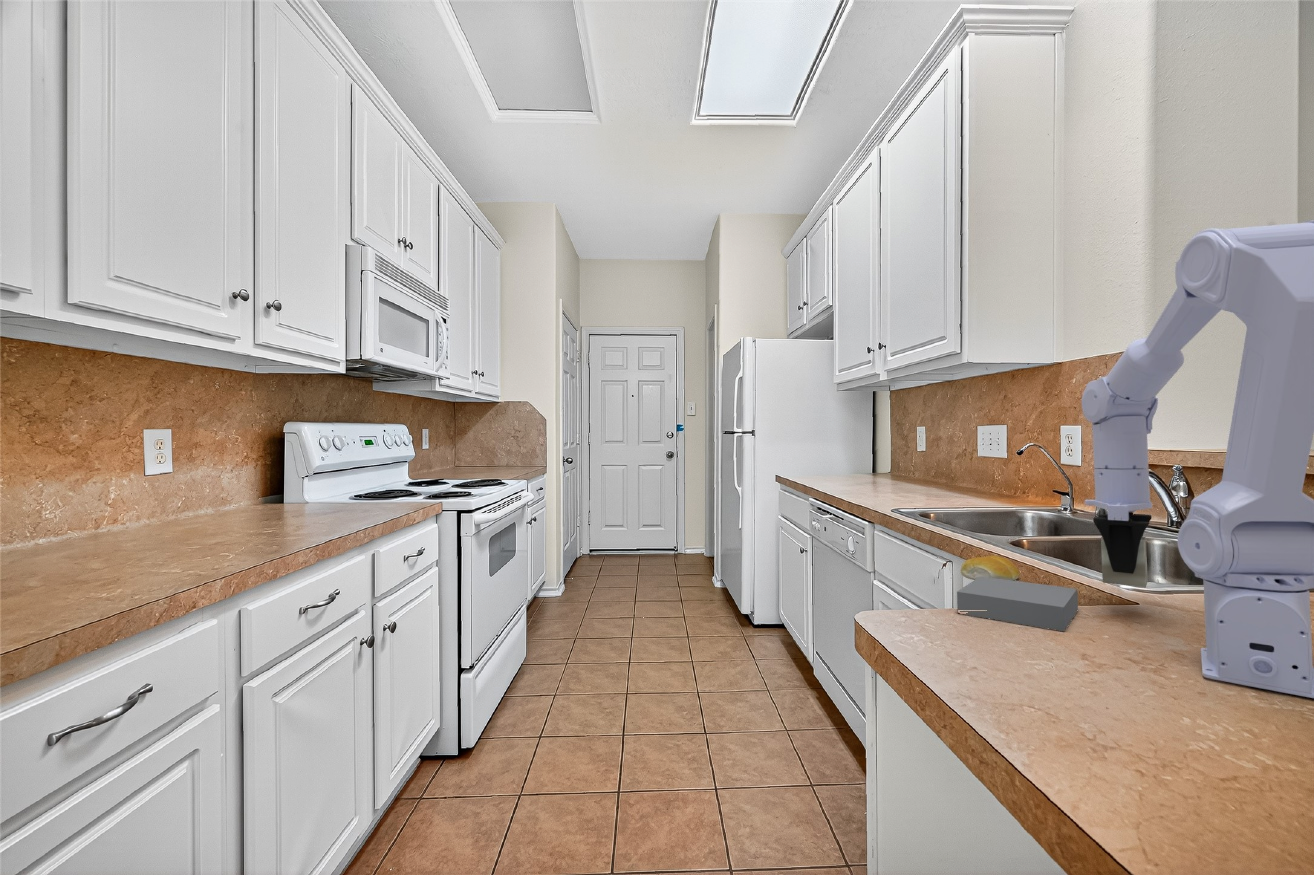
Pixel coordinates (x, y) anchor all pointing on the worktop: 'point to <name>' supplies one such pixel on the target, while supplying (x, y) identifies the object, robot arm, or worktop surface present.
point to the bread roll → (990, 568)
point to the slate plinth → (1019, 602)
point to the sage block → (1126, 578)
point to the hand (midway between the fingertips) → (1124, 569)
